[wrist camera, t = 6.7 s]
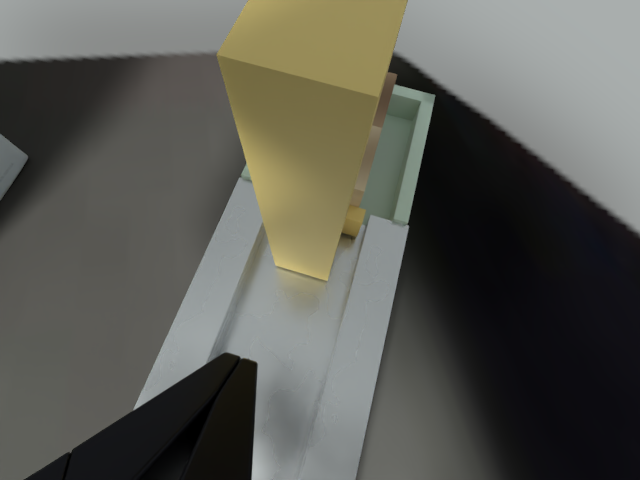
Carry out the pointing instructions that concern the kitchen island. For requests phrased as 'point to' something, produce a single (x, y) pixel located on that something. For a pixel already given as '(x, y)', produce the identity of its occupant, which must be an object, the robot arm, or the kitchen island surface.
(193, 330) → the slot rail
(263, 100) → the tall yellow pillar
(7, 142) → the tea box
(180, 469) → the robot arm
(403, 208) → the tray
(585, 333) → the kitchen island surface
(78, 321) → the kitchen island surface
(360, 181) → the maple block
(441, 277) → the kitchen island surface
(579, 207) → the kitchen island surface
